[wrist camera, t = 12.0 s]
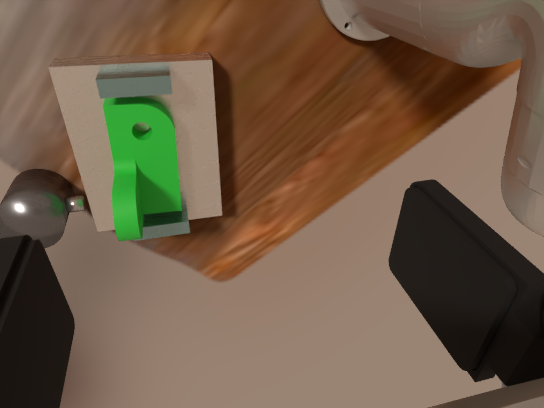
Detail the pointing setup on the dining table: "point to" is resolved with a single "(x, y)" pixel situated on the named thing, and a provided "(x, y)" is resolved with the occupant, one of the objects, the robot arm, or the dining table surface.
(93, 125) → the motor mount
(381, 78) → the dining table surface
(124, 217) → the mechanical part
